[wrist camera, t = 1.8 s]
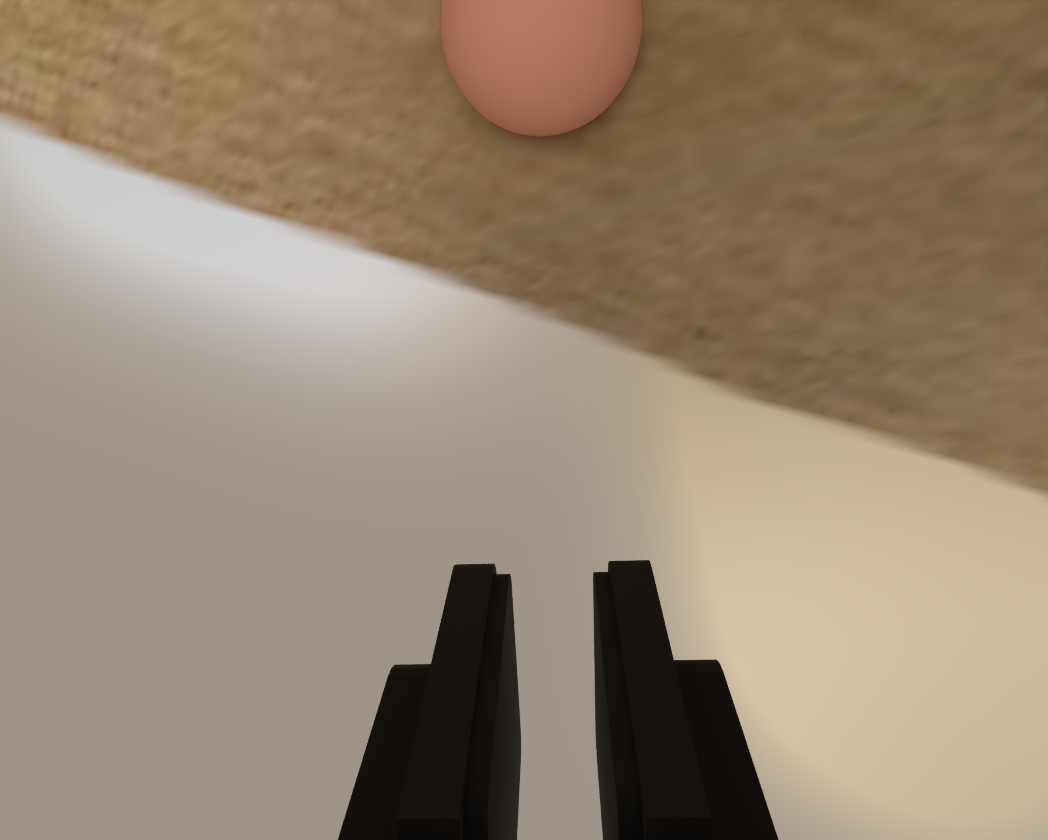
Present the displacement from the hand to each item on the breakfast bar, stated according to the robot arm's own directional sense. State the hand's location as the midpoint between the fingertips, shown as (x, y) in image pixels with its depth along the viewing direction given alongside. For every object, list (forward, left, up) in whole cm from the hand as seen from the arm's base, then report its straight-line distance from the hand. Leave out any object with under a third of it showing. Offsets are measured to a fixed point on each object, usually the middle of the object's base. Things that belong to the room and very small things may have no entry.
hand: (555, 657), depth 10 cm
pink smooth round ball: (0, -9, -14) cm, 17 cm away
